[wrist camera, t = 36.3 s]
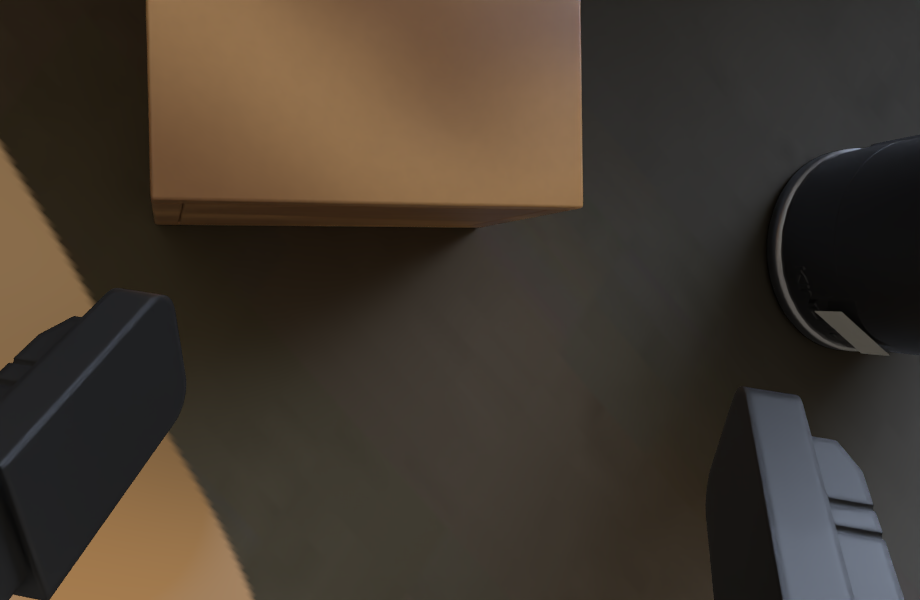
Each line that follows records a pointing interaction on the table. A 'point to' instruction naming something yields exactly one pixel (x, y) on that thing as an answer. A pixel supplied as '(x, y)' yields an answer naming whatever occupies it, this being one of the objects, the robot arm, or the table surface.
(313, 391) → the table surface
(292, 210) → the cabinet
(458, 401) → the table surface
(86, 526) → the robot arm
